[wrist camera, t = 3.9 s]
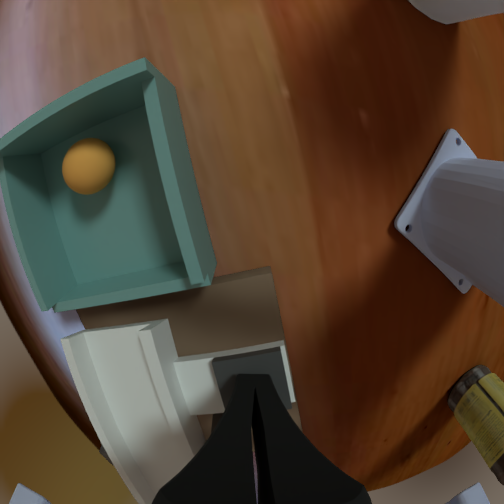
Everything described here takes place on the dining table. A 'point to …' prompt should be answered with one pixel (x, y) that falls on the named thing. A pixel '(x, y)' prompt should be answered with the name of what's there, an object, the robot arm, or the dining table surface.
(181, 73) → the dining table surface
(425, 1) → the foam cup
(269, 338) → the stand
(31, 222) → the teal open box
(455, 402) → the sauce bottle
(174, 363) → the tray
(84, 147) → the ball
